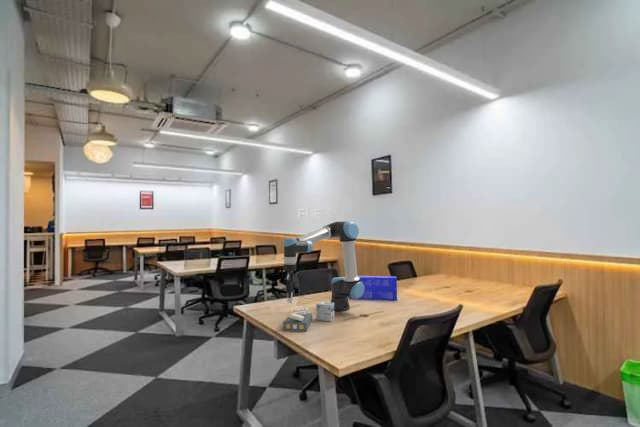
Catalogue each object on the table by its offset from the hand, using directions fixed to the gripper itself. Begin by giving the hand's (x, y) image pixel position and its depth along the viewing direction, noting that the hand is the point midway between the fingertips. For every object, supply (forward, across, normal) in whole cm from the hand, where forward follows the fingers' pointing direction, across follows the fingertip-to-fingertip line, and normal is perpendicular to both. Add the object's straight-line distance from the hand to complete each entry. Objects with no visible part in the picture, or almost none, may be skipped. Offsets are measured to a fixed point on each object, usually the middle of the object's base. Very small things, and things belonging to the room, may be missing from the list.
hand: (289, 302), depth 197 cm
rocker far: (+8, -13, +4) cm, 16 cm away
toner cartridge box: (+15, -84, +51) cm, 99 cm away
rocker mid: (+8, -7, +4) cm, 11 cm away
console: (+16, -7, +4) cm, 18 cm away
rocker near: (+8, 0, +4) cm, 9 cm away
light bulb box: (+16, -22, +19) cm, 33 cm away
